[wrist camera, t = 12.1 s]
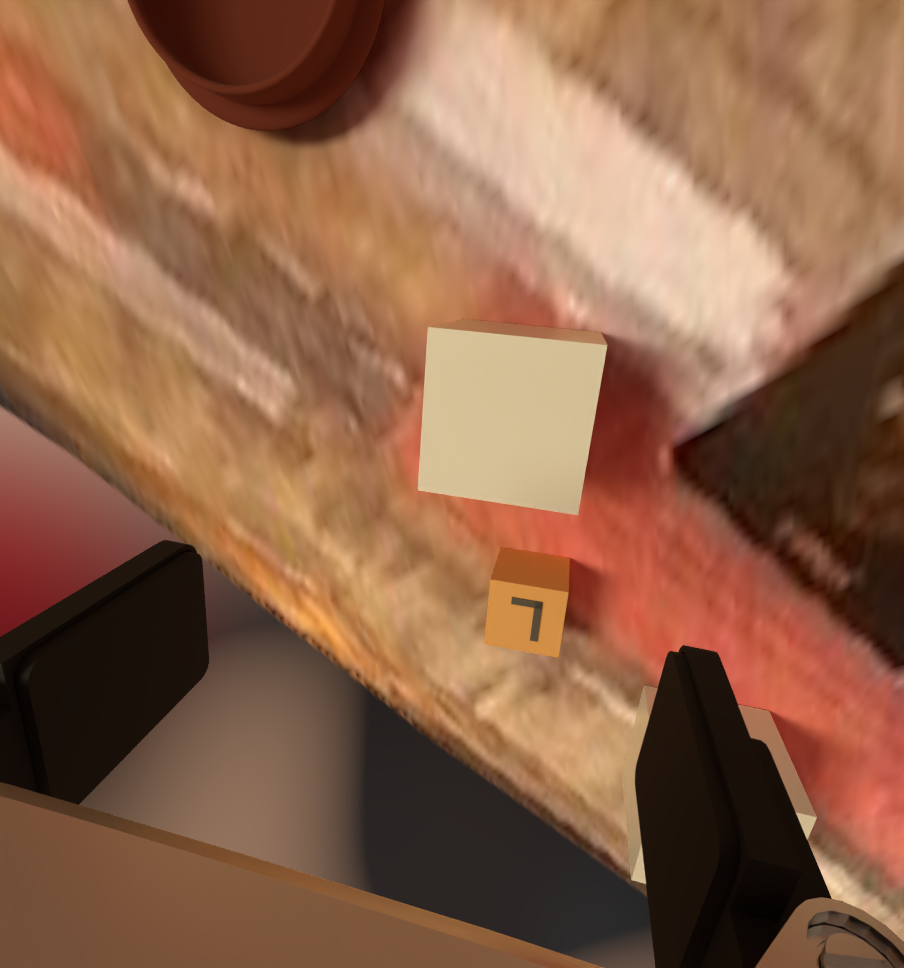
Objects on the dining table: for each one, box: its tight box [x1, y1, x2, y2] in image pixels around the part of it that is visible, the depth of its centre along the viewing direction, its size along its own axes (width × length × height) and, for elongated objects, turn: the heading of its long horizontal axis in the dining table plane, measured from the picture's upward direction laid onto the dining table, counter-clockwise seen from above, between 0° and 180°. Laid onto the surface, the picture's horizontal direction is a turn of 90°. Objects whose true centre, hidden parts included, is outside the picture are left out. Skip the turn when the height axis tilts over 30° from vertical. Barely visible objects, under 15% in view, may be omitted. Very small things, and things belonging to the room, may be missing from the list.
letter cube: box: [484, 547, 570, 658], centre depth 31 cm, size 4×4×4 cm
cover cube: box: [418, 319, 607, 515], centre depth 26 cm, size 7×7×7 cm
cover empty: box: [622, 685, 817, 884], centre depth 30 cm, size 7×7×7 cm
